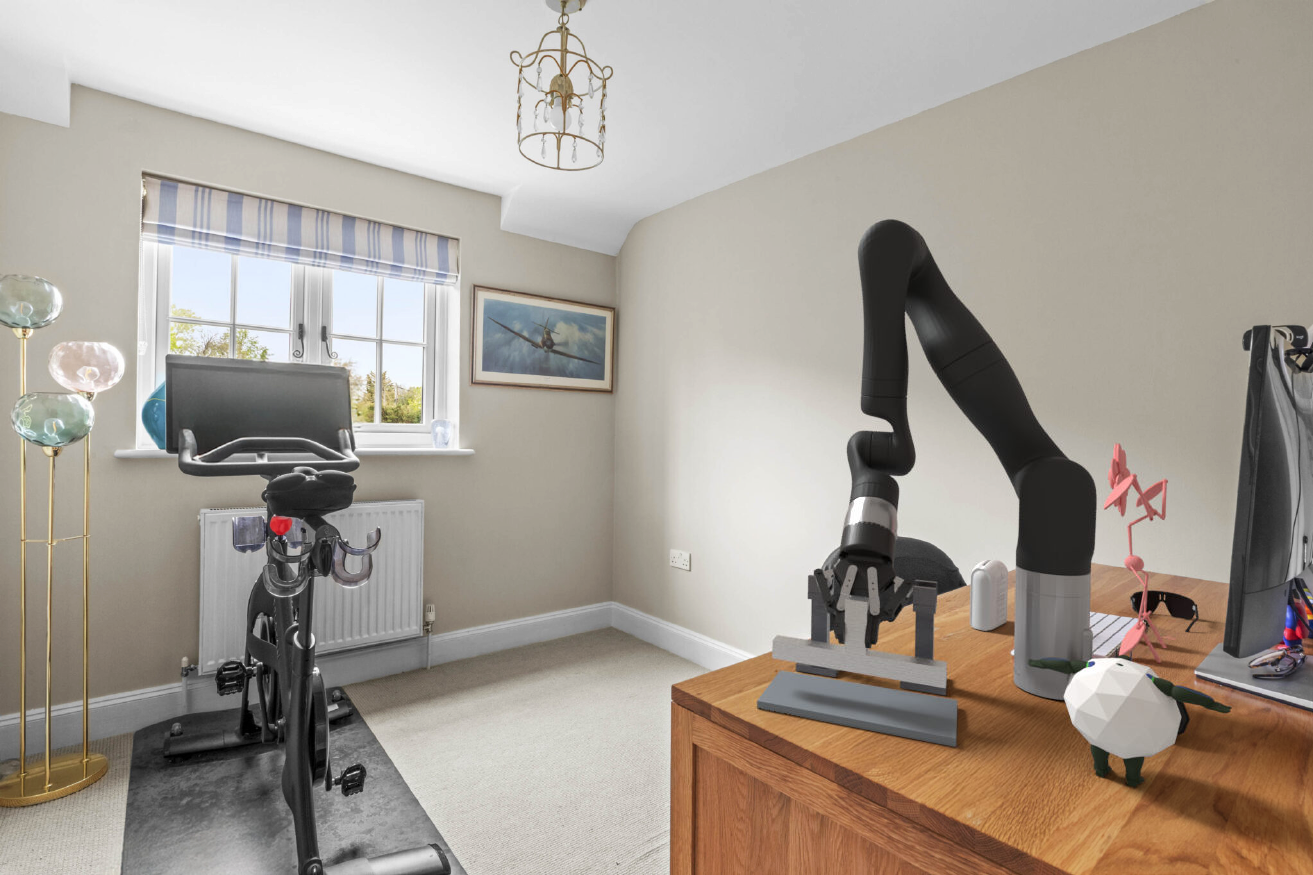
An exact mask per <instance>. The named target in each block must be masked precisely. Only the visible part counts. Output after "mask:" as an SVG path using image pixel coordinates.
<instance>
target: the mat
mask: <svg viewBox="0 0 1313 875" xmlns="http://www.w3.org/2000/svg"><path fill="white" fill-rule="evenodd" d="M756 708H757V709H759V708H761V709H760V710H764V711H769V710H770V712H774V711H776V712H775V713H779V712H780V713H779V714H784V713H787V714H786V715H789V714H791V716H794V715H796V716H795V717H799V716H800V717H801V718H806V719H810V720H814V721H821V722H824V723H825V722H827V723H831V724H836V725H841V726H844V727H845V726H846V727H852V728H855V729H861V730H865V731H866V730H867V731H872V732H878V733H882V734H888V735H891V736H897V737H903V738H908V739H912V740H918V741H924V742H927V743H933V744H938V745H943V746H948V747H953V748H957V732H958V731H957V728H958V726H957V724H958V700H957V699H953V698H946V697H942V696H934V695H930V694H924V693H917V692H913V691H906V690H900V689H895V688H888V687H887V688H886V687H882V686H877V685H876V686H875V685H869V684H863V683H858V682H852V681H847V680H841V679H834V678H828V677H824V676H823V677H822V676H817V675H811V674H804V673H799V672H792V671H787V670H779V671H778V673H777V674H776V675H775V677H774V678H773V679H772V680H771V682H770V683H769V685H768V686H766V689H765V690H764V691H763V692H762V694H761V695H760V696H759V698H758V699H757V700H756Z"/></svg>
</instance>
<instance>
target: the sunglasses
mask: <svg viewBox="0 0 1313 875" xmlns="http://www.w3.org/2000/svg"><path fill="white" fill-rule="evenodd" d="M1143 591H1144V590H1141V591H1136V592H1134V593H1133V594H1131V595H1130V600H1129V601H1130V604H1131V608H1132V610H1133V611H1134V612H1136V613H1137V614H1138V615H1139V612H1140V607H1141V602H1142V596H1143ZM1160 603H1163V604H1165V608H1166V609H1167V612H1168V613H1169V614H1170V616H1171V617H1172V618H1175V619H1176V618H1177V619H1181V620H1192V619H1193V618H1194V617H1195V619H1194V620H1192V621H1191V622H1190V623H1189V625H1188V626H1187V628H1186V629H1185V633H1189V632H1190V630H1191V628H1192V627H1193V625H1194V624H1196V622H1197V621H1198V620H1199V616H1200V614H1199V610H1198V604H1196V603H1195V601H1194V600H1193V599H1191V598H1190V597H1187V596H1185V595H1183V594H1179V593H1177V592H1176V593H1175V592H1170V591H1163V590H1155V589H1154V590H1148V589H1147V604H1146V612H1147V613H1148V612H1149V611H1151V614H1150V615H1153V614H1154V613H1155V611H1156V610H1157V608H1158V607H1159V605H1160ZM1143 613H1144V606H1143V611H1142V614H1143ZM1142 617H1143V616H1141V618H1142ZM1143 622H1144V623H1145V622H1146V627H1148V628H1151V626H1150V625H1149V623H1148V621H1147V619H1145V620H1144V621H1143Z"/></svg>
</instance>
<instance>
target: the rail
mask: <svg viewBox="0 0 1313 875" xmlns="http://www.w3.org/2000/svg"><path fill="white" fill-rule="evenodd" d="M868 615H870V598H869V597H861V596H854V595H848V596H847V598H846V599H845V644H835V643H824V642H818V641H812V640H811V639H806V638H805V639H804V638H798V637H794V636H793V637H791V636H785V635H779V634H777V635H776V636H775V637H774V638H773V639H772V646H771V647H772V648H771V649H772V651H771V652H772V656H771V657H772V659H774V660H779V661H780V660H781V661H787V662H792V663H802V664H808V665H814V666H820V667H825V668H831V669H837V670H839V671H844V672H850V673H856V674H861V675H867V676H871V677H878V678H883V679H890V680H894V681H899V682H900V681H906V682H912V683H917V684H923V685H929V686H935V687H940V688H946V689H947V684H946V674H947V675H948V671H947V669H948V661H943V660H937V659H934V660H932V659H925V658H919V657H915V656H911V655H906V654H905V655H904V654H899V653H894V652H885V651H880V650H875V649H874V650H873V649H869V648H865V632H866V625H867V620H868Z"/></svg>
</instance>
